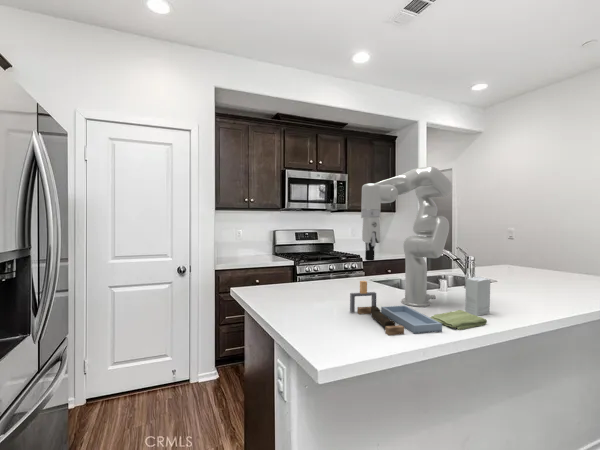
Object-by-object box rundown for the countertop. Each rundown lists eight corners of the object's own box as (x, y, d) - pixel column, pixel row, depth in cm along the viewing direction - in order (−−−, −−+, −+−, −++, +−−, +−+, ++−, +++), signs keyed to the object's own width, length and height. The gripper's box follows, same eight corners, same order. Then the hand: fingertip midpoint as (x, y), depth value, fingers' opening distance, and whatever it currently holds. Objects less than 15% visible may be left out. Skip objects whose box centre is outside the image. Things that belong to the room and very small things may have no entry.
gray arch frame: (374, 310, 137) (374, 280, 137) (376, 311, 135) (376, 281, 135) (349, 311, 134) (350, 281, 134) (351, 312, 132) (352, 282, 132)
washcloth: (427, 321, 125) (427, 312, 125) (460, 316, 131) (460, 308, 131) (455, 332, 113) (455, 323, 112) (490, 326, 119) (490, 317, 119)
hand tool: (395, 332, 112) (396, 318, 112) (384, 332, 112) (385, 318, 111) (378, 315, 131) (378, 304, 131) (368, 315, 130) (369, 304, 130)
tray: (404, 311, 135) (404, 305, 135) (442, 331, 112) (442, 323, 112) (381, 313, 133) (381, 306, 133) (414, 333, 109) (414, 325, 109)
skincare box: (477, 310, 139) (477, 276, 139) (490, 314, 134) (491, 278, 133) (464, 312, 135) (464, 277, 135) (477, 316, 130) (478, 280, 130)
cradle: (370, 312, 134) (370, 306, 134) (404, 334, 109) (404, 327, 109) (357, 312, 133) (357, 307, 133) (388, 335, 108) (388, 328, 108)
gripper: (386, 214, 121) (385, 262, 121) (374, 215, 136) (373, 258, 136) (366, 214, 120) (365, 262, 120) (356, 214, 135) (356, 258, 135)
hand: (369, 260), depth 128 cm, fingers closed
